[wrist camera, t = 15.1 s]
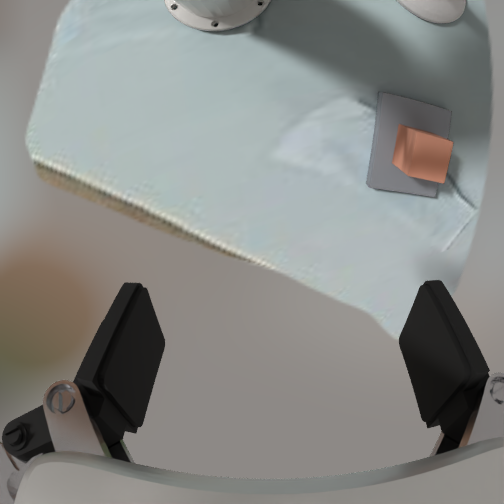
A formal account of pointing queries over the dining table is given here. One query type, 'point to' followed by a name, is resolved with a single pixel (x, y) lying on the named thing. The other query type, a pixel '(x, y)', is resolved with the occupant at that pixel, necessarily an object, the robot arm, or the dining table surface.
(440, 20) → the candlestick
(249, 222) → the dining table surface
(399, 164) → the brown cube
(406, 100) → the slate board
